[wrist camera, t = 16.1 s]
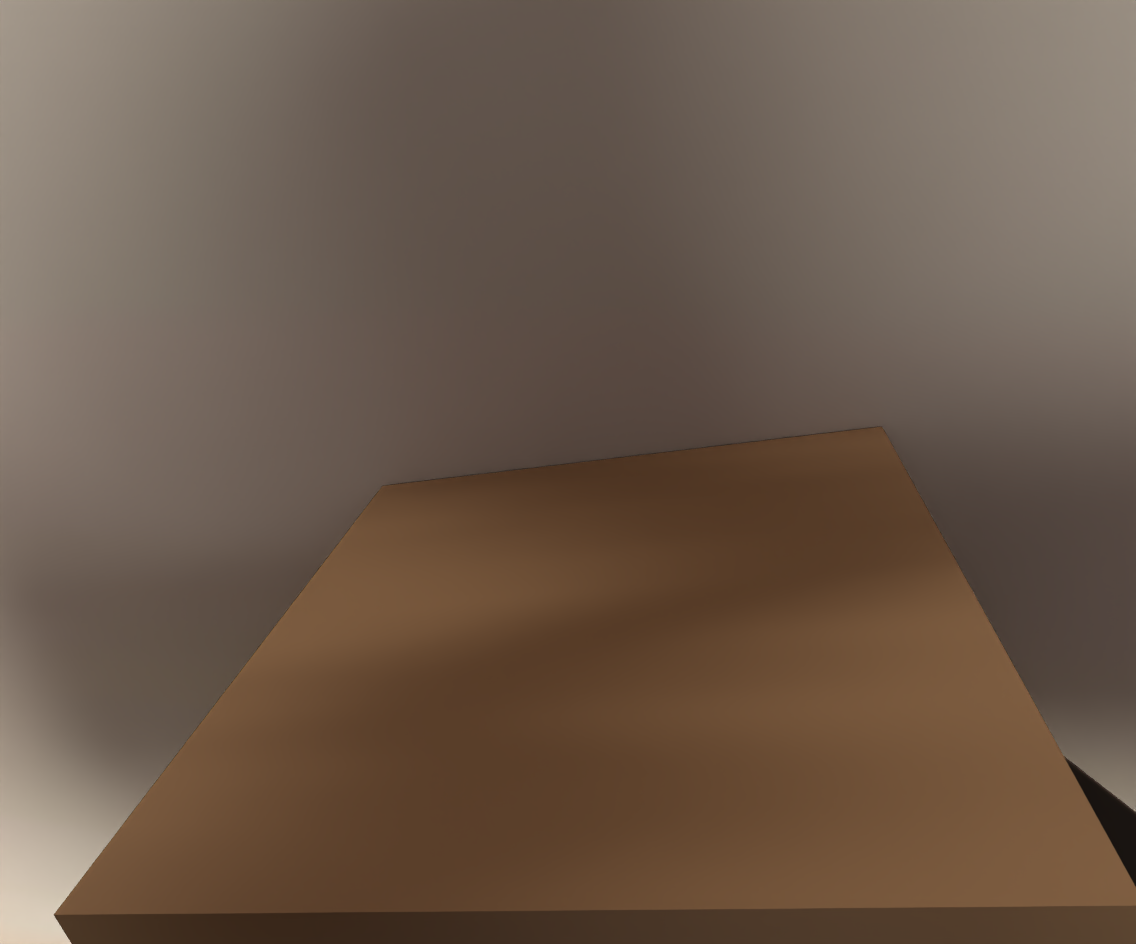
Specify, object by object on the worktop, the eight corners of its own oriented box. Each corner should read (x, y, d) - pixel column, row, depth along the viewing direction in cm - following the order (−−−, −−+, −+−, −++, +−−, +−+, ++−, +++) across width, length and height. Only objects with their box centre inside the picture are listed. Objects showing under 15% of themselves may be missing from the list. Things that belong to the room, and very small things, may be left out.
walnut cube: (881, 426, 8) (1145, 905, 3) (897, 821, 10) (1072, 1455, 5) (382, 485, 9) (53, 914, 4) (488, 832, 11) (341, 1376, 6)
